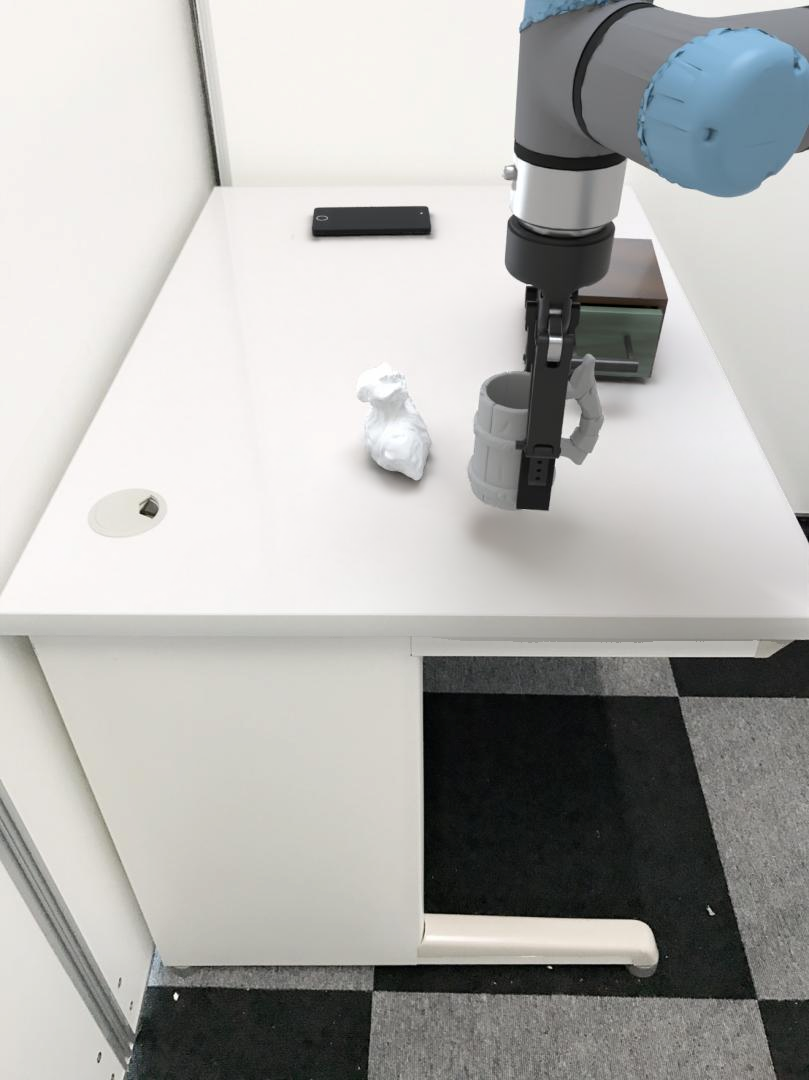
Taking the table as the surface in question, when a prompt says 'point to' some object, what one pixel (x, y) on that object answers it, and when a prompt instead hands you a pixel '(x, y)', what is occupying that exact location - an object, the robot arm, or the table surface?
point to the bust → (393, 423)
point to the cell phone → (371, 220)
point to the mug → (523, 431)
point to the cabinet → (630, 279)
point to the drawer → (617, 338)
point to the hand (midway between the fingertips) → (531, 476)
